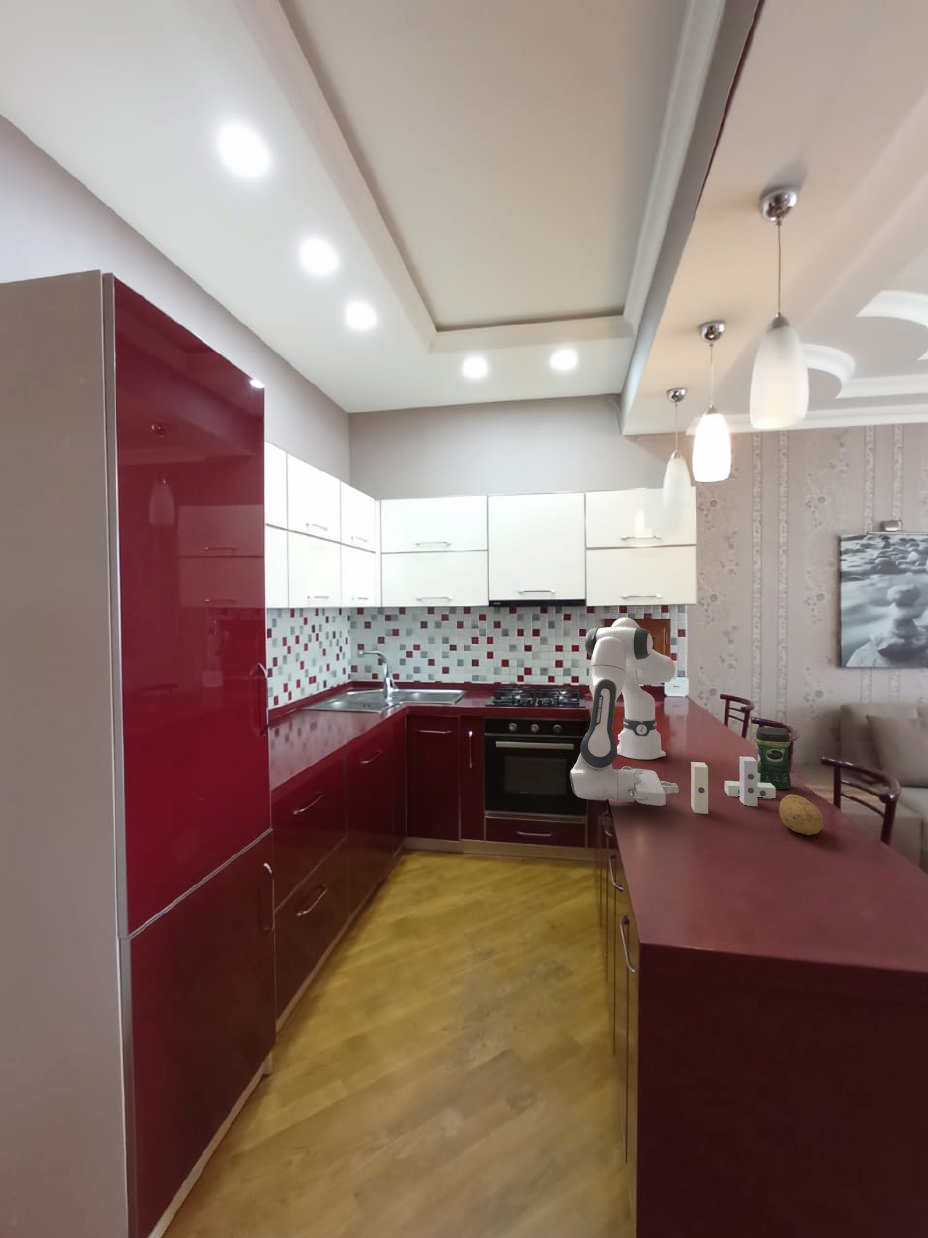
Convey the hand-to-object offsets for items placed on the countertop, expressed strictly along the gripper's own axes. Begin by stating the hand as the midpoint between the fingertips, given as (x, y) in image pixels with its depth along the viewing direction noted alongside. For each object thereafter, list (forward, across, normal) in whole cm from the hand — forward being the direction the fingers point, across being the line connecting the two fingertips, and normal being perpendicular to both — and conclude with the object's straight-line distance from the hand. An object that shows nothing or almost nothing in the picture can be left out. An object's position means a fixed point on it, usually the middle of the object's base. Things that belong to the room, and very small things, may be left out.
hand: (677, 788), depth 155 cm
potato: (+28, -11, +6) cm, 31 cm away
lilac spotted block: (+21, +8, +6) cm, 23 cm away
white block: (+17, +16, +5) cm, 23 cm away
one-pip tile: (+6, 0, +6) cm, 8 cm away
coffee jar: (+33, +25, +6) cm, 42 cm away
